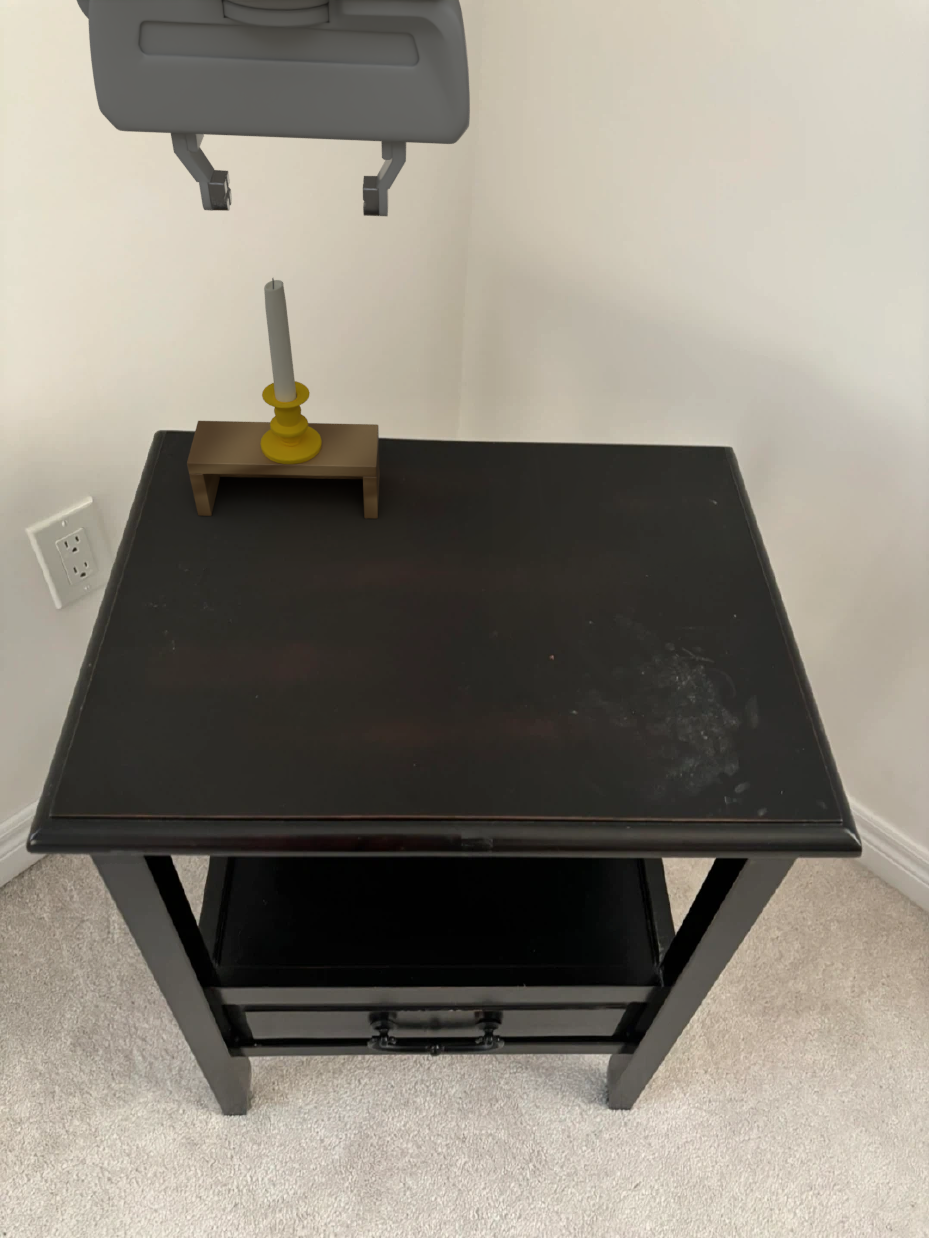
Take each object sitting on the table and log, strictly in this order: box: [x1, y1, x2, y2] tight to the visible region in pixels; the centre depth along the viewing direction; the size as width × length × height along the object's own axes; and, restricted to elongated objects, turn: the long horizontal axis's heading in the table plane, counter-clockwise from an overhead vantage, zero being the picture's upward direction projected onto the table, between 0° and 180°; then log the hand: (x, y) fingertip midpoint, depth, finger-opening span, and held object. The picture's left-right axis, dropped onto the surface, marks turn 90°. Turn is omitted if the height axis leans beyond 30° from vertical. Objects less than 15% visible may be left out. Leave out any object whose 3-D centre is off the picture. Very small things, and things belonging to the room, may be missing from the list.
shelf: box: [186, 420, 381, 520], centre depth 83 cm, size 16×6×6 cm, turn 92°
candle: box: [260, 277, 322, 464], centre depth 75 cm, size 5×5×16 cm
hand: (297, 209), depth 56 cm, fingers open, 8 cm apart
